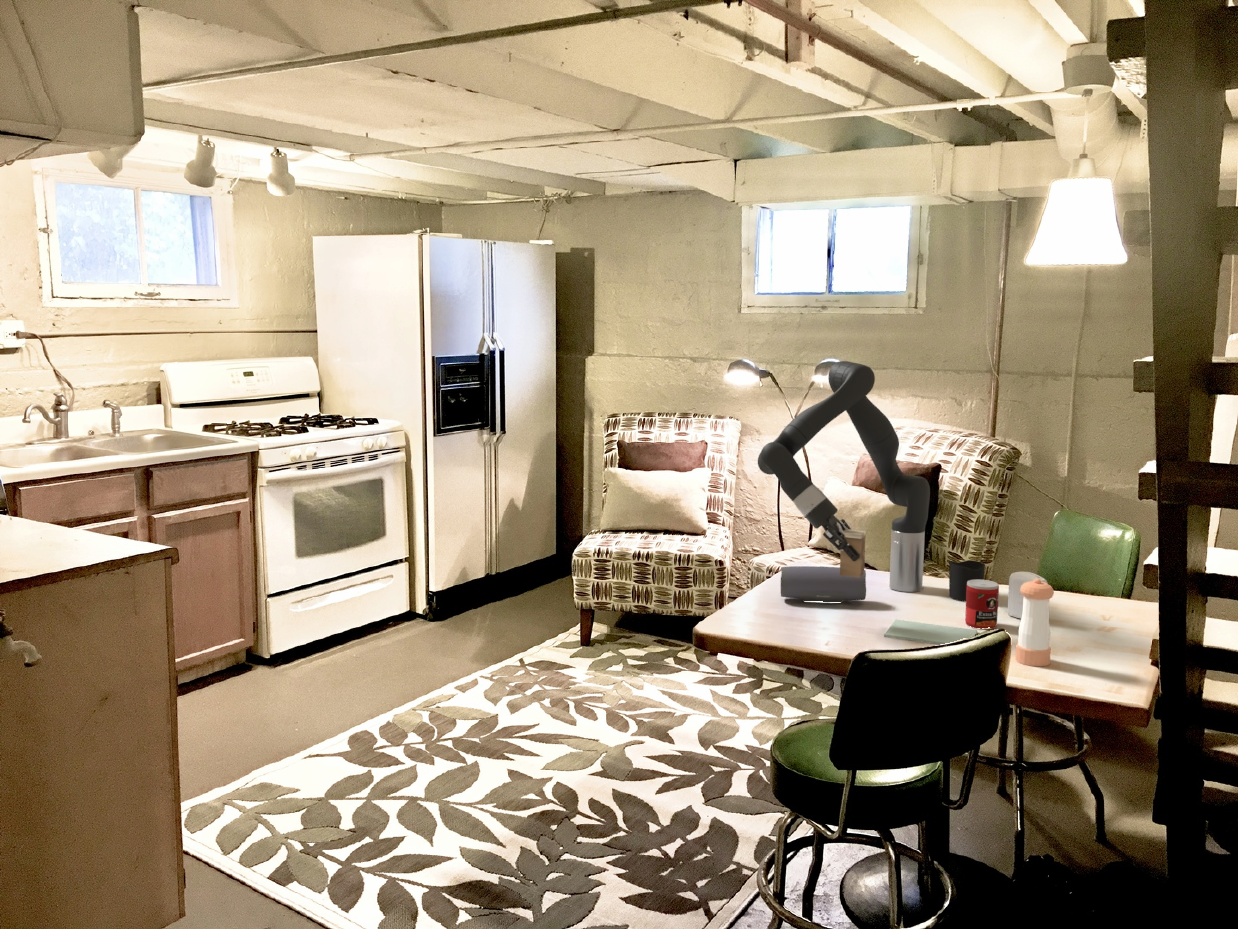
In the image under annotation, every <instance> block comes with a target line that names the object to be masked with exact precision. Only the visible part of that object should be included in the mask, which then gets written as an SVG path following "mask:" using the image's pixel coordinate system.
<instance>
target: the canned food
mask: <svg viewBox="0 0 1238 929" xmlns="http://www.w3.org/2000/svg"><path fill="white" fill-rule="evenodd" d="M999 586H1000V584H999V583H997V582H996V581H992V580H988V579H984V580H981V579H975V580H969V581H968V582H967V590H966V602H965V613H964V614H965V616H964V618H965V619H964V621H965V624H966V625H967V626H968V627H970V626H971V627H970V628H973V627H974V628H973V629H977V628H980V629H979V630H983V629H982V628H988V627H990V628H993V629H995V628H996V627H997V625H998V624H997V623H998V613H999V610H998V609H999V594H1000V593H999V591H1000V587H999Z"/></svg>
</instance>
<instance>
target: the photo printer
mask: <svg viewBox="0 0 1238 929" xmlns="http://www.w3.org/2000/svg"><path fill="white" fill-rule="evenodd" d="M1035 579H1040V580H1041V582H1044V583H1047V584H1048V580H1046V578H1044V577H1043V576H1040V575H1038V574H1036V573H1034V572H1030V571H1015V572H1012V573H1011V574H1010V576H1009V579H1008V594H1007V595H1008V597H1007V615H1008V616H1010V617H1014V618H1017V619H1020V620H1021V618H1022V613H1023V599H1024V596H1023V595H1022V594H1021V592H1020V589H1021V586H1022V585H1023V584H1024V583H1026V582H1029V581H1034V580H1035ZM1048 585H1049V584H1048Z"/></svg>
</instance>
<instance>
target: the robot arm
mask: <svg viewBox="0 0 1238 929" xmlns="http://www.w3.org/2000/svg"><path fill="white" fill-rule="evenodd" d="M827 377H828V385H829V387H830V389H831V392H832V394H831V395H829V396H828V397H827V398H825V399H823V400H821V401H819V402H817V403H815V404H813V405H812V406H810V407H808V408H806V409H805V410H803V411H801V412H800V413H798V415H796V416H795V417H794V418H793V419H792V420H791V421H790V422H789V423H788V424H787V425H786V426H785V427H784V428H783V430H782V431H781V432H780V434H779V435H778V437H776V439H774V440H773V441H769V442H768V443H767V444H765V445H764V446H763V447H762V449H761V451H760V453H759V454H758V458H757V466H758V469H759V470H760V471H761V472H762V473H764V474H765V475H774V476H775V477H776V478H777V479H778V480H779V483H780V489H781V490H782V491H783V492H784V494H785V495H786V496H787V497H788V498H789V499H790V501H792V502H793V504H794V505H795V507H796V508H797V510H798V511H799V512H800V513H801V515H803V516H804V518H805V519H806V520H807V521H808V522H809V523H810V524H811V525H812V527H813V528H814V529H819V528H820V527H822V529H823V531H824V532H823V533H822V536H823V537H824V538H825V539H826V540H828V542H829V543H830V544H831V545H832V546H834V547H835V549H836V550H837V551H840V552H841V550H842V551H844V552H845V553H846V554H847V555H848V556H849V557H850V558H851V559H852V561H856V560H857V559H858V558H860V555H859V554H858V552H857V551H856V550H855V549H854V548H853V547H852V546H851V545H850V543H849V542H848V541H847V539H846V538H845V537H846V536H845V534H844V530H848V529H850V530H853V529H852V528H851V527H850V525H849V524H848V523H847V522H846V520H845V519H843V518H842V519H838V518H837V517H836V516H835V514H837V513H838V511H839V510H838V508H837V507H836V506H835V504H834V503H833V502H832V501H831V500H830V499H829V498H828V497H827V496H826V494H824V492H823V491H822V490H821V489H820V488H819V487H817V486H816V485H815V484H814V483H813V482H812V480H810V478H809V477H808V476H807V475H806V474H805V473H804V472H803V471H802V469H801V468H800V465H799V464H798V463H797V461H796V459H795V455H796V454H797V453H798V452H799V451H800V450H802V449H803V448H804V447H805V446H806V445H807V444H809V442H810V441H811V440H813V438H814V437H815V436H816V435H817V434H818V433H819V432H821V430H822V429H824V428H826V426H827V425H828V424H829V423H831V422H832V421H833V420H835V419H836V418H837V417H839V416H840V415H841V414H843V413H844V412H846V413H847V416H848V417H849V419H850V421H851V423H852V424H853V426H854V428H855V430H856V431H857V434H858V436H859V438H860V440H861V442H862V444H863V446H864V447H865V450H866V452H867V453H868V455H869V457H870V459H871V461H872V463H873V464H874V467H875V468H876V471H877V473H878V475H879V478H880V481H881V484H882V486H883V488H884V491H885V494H886V495H887V498H888V500H889V501H890V502H891V503H892V504H894V505H895V506H899V507H905V508H906V512H905V515H903V516H901V517H896V518H894V519H893V520H892V522H891V532H890V534H891V538H890V540H891V542H890V559H889V560H890V563H889V589H890V590H891V589H892V590H894V591H898V592H907V593H908V592H909V593H915V592H920V591H922V590H923V577H924V556H925V554H924V553H925V534H926V533H925V532H926V525H927V521H928V518H929V508H930V497H931V487H930V484H929V482H928V481H929V480H927V478H925V477H923V476H919V475H913V474H906V473H903V471H902V470H901V468H900V466H899V465H898V462H897V456H898V452H899V449H900V440H899V437H898V434H897V433H896V430H895V428H894V426H893V425H892V423H891V421H890V419H889V418H888V417H887V416H886V415H885V414H884V412H882V411H881V410H880V409H879V408H878V407H877V406H876V405H875V404H874V403H873V401H871V400H870V399H869V397H867V395H869V393H870V392H871V391H872V390H873V387H874V385H875V382H876V378H875V377H876V376H875V372H874V370H873V369H872V368H871V367H869V366H868V365H866V364H862V363H857V362H853V361H847V360H845V361H844V360H841V361H837V362H834V363H833V365H831V367H830V368H829V371H828V376H827Z"/></svg>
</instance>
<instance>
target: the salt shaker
mask: <svg viewBox="0 0 1238 929" xmlns="http://www.w3.org/2000/svg"><path fill="white" fill-rule="evenodd" d="M1047 583H1048V582H1047ZM1047 583H1044V582H1041V580H1040V579H1035V580H1034V581H1029V582H1026V583H1024V584H1023V585H1022V586H1021V589H1020V592H1021V594H1022V595H1023V596H1024V599H1023V613H1022V618H1021V619H1020V623H1019V628H1018V641H1017V643H1016V647H1015V660H1016V662H1018V663H1019V662H1020V664H1022V665H1025V666H1029V667H1030V666H1032V667H1047V666H1050V665H1051V653H1052V652H1051V646H1050V639H1051V627H1050V626H1051V625H1050V618H1049V617H1050V616H1049V615H1050V614H1049V613H1050V599H1052V598H1053V596H1054V593H1055V590H1054V588H1053V587H1052V586H1051V585H1050V584H1047Z"/></svg>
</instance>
